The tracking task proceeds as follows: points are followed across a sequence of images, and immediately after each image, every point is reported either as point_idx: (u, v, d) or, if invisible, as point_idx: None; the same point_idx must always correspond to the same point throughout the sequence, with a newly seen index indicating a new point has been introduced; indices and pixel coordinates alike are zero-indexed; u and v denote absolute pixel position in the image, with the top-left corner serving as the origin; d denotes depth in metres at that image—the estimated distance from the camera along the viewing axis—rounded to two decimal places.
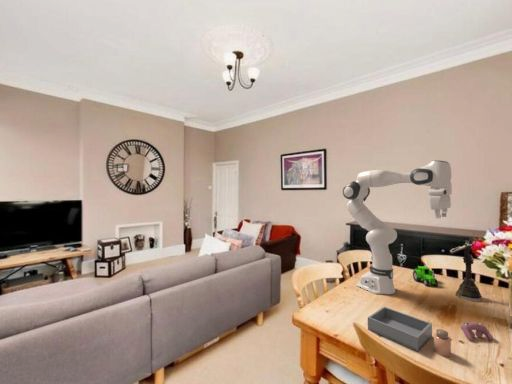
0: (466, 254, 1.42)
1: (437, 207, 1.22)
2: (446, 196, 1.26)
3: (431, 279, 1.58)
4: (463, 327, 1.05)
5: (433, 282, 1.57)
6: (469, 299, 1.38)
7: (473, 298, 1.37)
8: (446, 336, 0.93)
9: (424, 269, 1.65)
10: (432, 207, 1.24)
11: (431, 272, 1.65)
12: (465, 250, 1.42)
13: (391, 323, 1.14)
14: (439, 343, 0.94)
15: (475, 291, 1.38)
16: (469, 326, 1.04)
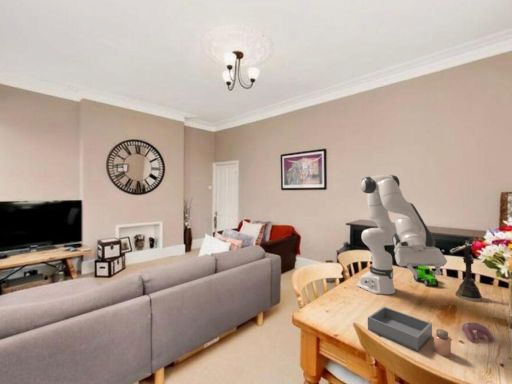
0: (466, 254, 1.42)
1: (399, 260, 1.11)
2: (415, 248, 1.13)
3: (432, 279, 1.57)
4: (464, 327, 1.05)
5: (434, 282, 1.57)
6: (469, 299, 1.38)
7: (473, 298, 1.37)
8: (446, 336, 0.93)
9: (425, 269, 1.65)
10: (397, 263, 1.13)
11: (432, 272, 1.65)
12: (465, 250, 1.42)
13: (391, 323, 1.14)
14: (439, 343, 0.94)
15: (475, 291, 1.38)
16: (470, 326, 1.04)
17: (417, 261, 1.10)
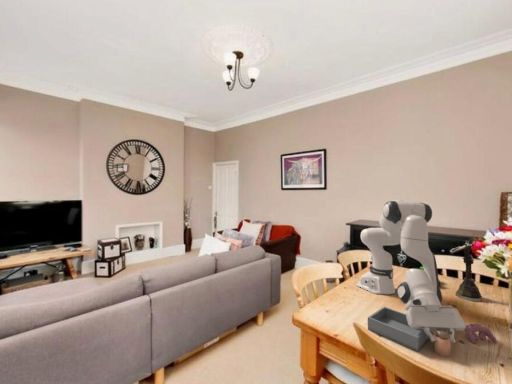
0: (466, 254, 1.42)
1: (411, 323, 0.99)
2: (430, 309, 1.01)
3: None
4: (466, 329, 1.04)
5: None
6: (469, 299, 1.38)
7: (473, 298, 1.37)
8: (446, 336, 0.93)
9: None
10: (409, 324, 1.00)
11: None
12: (465, 250, 1.42)
13: (391, 323, 1.14)
14: (439, 343, 0.94)
15: (475, 291, 1.38)
16: (472, 328, 1.03)
17: (431, 325, 0.97)
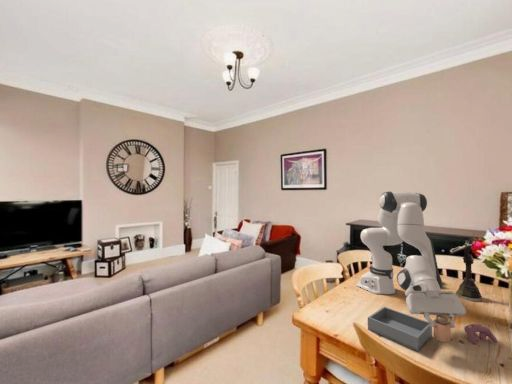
0: (466, 254, 1.42)
1: (411, 308, 0.99)
2: (430, 294, 1.00)
3: None
4: (467, 329, 1.03)
5: None
6: (469, 299, 1.38)
7: (473, 298, 1.37)
8: (446, 322, 0.93)
9: None
10: (409, 310, 1.00)
11: None
12: (465, 250, 1.42)
13: (391, 323, 1.14)
14: (439, 328, 0.94)
15: (475, 291, 1.38)
16: (473, 328, 1.03)
17: (431, 310, 0.97)
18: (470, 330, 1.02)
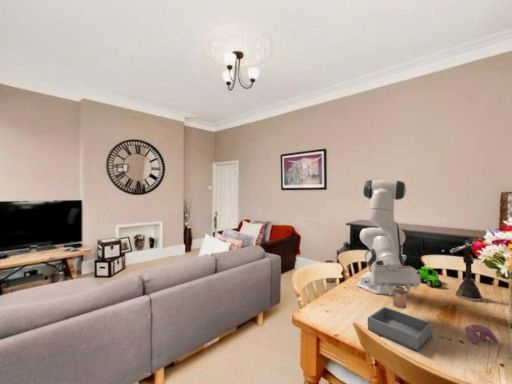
0: (466, 254, 1.42)
1: (373, 280, 1.12)
2: (390, 268, 1.13)
3: (435, 280, 1.56)
4: (467, 330, 1.03)
5: (437, 283, 1.56)
6: (469, 299, 1.38)
7: (473, 298, 1.37)
8: (402, 291, 1.06)
9: (428, 270, 1.63)
10: (372, 282, 1.13)
11: (435, 273, 1.64)
12: (465, 250, 1.42)
13: (391, 323, 1.14)
14: (396, 297, 1.07)
15: (475, 291, 1.38)
16: (473, 329, 1.02)
17: (391, 281, 1.10)
18: (471, 330, 1.02)
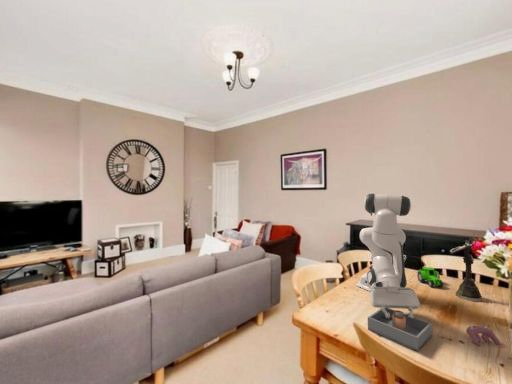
0: (466, 254, 1.42)
1: (372, 302, 1.12)
2: (390, 290, 1.14)
3: (436, 280, 1.55)
4: (469, 331, 1.02)
5: (438, 283, 1.55)
6: (469, 299, 1.38)
7: (473, 298, 1.37)
8: (401, 316, 1.07)
9: (429, 270, 1.63)
10: (371, 304, 1.14)
11: (436, 273, 1.63)
12: (465, 250, 1.42)
13: (391, 323, 1.14)
14: (395, 322, 1.07)
15: (475, 291, 1.38)
16: (475, 330, 1.02)
17: (390, 303, 1.11)
18: (472, 331, 1.01)
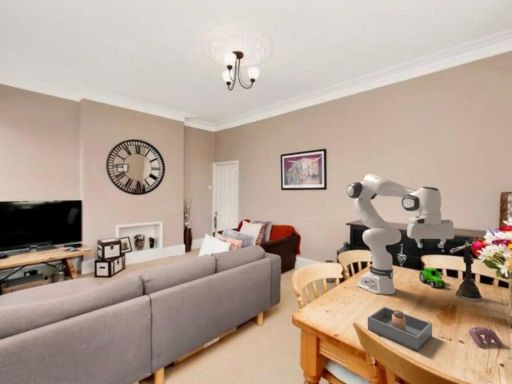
0: (466, 254, 1.42)
1: (409, 236, 1.22)
2: (430, 225, 1.19)
3: (438, 281, 1.55)
4: (472, 332, 1.01)
5: (440, 284, 1.54)
6: (469, 299, 1.38)
7: (473, 298, 1.37)
8: (401, 315, 1.07)
9: (431, 270, 1.62)
10: (407, 235, 1.24)
11: (438, 274, 1.62)
12: (465, 250, 1.42)
13: (391, 323, 1.14)
14: (395, 321, 1.07)
15: (475, 291, 1.38)
16: (478, 331, 1.00)
17: (426, 237, 1.20)
18: (475, 333, 1.00)
